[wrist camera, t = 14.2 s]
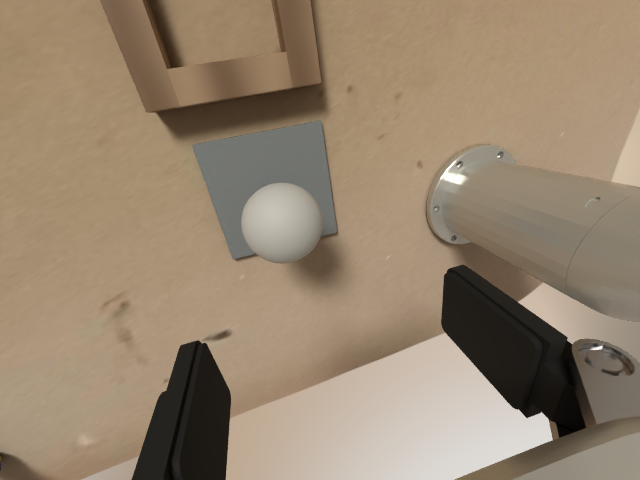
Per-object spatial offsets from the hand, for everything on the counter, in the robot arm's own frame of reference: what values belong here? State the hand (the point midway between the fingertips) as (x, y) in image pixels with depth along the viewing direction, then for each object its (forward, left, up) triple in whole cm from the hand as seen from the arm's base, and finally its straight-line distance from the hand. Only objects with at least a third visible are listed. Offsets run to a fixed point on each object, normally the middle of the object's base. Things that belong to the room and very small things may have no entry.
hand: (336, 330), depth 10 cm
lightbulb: (+1, 0, -20) cm, 20 cm away
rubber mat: (0, 0, -20) cm, 20 cm away
